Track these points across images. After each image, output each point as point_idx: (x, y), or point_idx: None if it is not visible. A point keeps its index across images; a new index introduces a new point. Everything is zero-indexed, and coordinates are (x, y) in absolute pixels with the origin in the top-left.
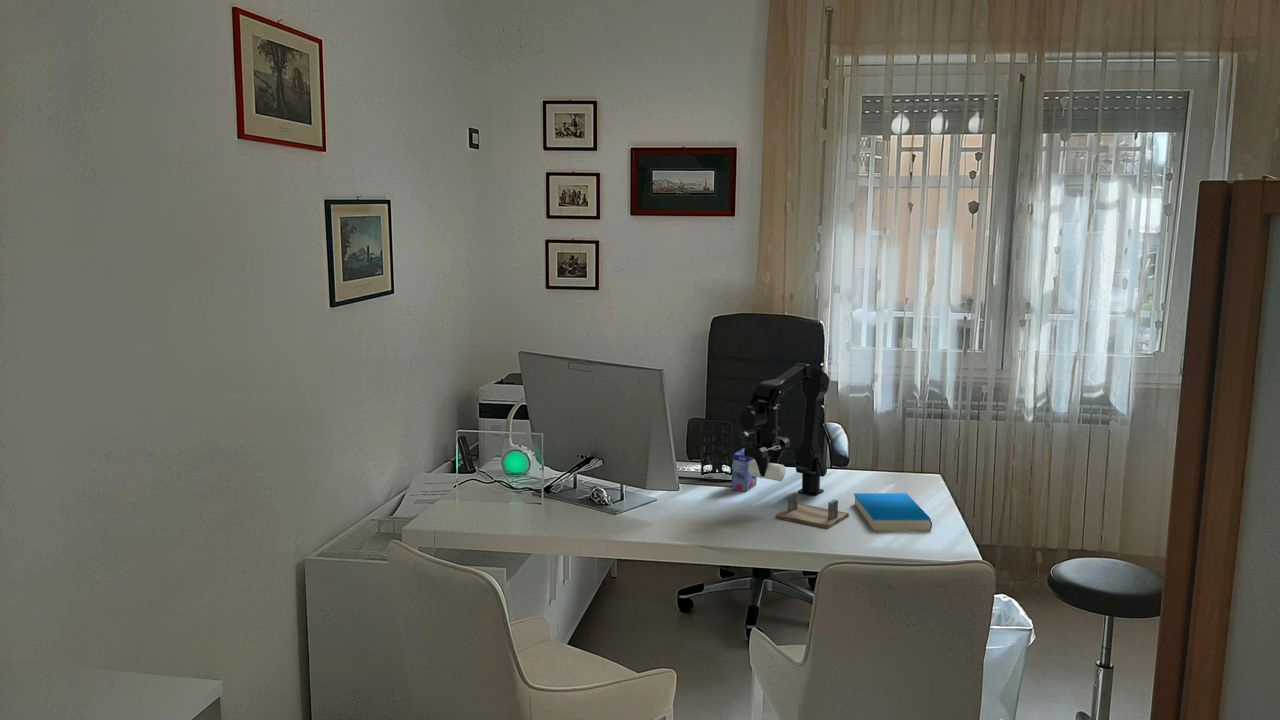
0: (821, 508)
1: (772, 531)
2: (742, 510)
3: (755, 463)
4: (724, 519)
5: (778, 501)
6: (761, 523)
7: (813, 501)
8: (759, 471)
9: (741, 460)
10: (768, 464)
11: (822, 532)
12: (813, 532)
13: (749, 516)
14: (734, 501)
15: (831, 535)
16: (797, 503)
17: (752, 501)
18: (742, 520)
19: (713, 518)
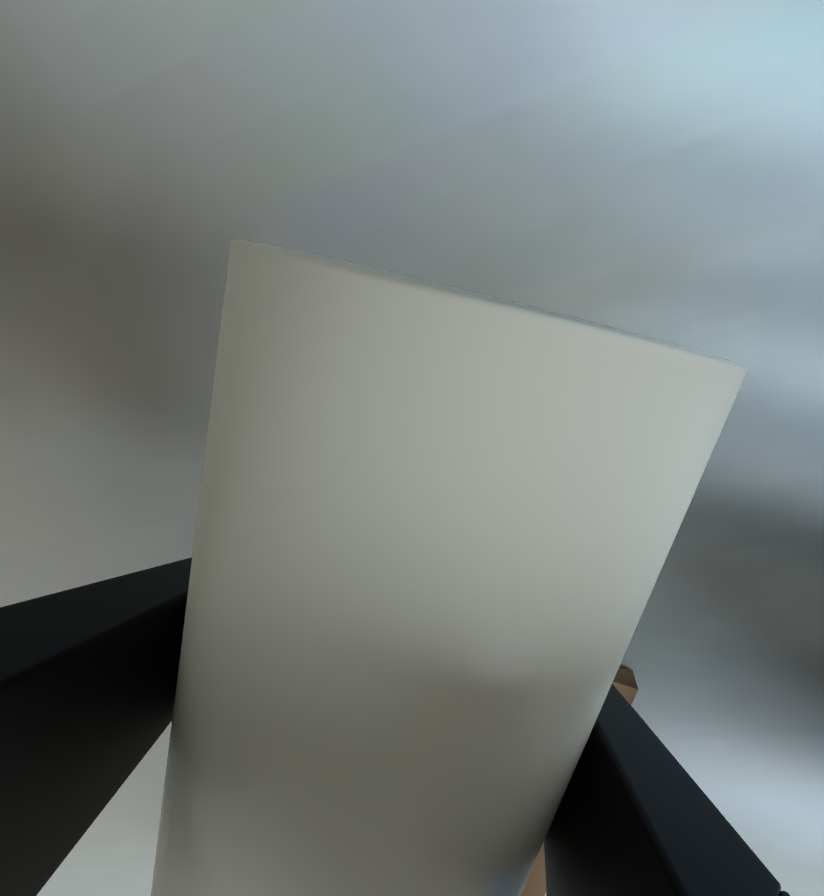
0: (542, 851)
1: (15, 581)
2: (336, 250)
3: (234, 487)
4: (46, 182)
5: (739, 501)
6: (111, 486)
7: (821, 773)
8: (140, 575)
9: None
10: (207, 888)
11: (148, 830)
12: (124, 790)
13: (212, 360)
14: (604, 52)
15: (129, 868)
16: (622, 689)
17: (665, 253)
18: (99, 335)
19: (18, 72)
